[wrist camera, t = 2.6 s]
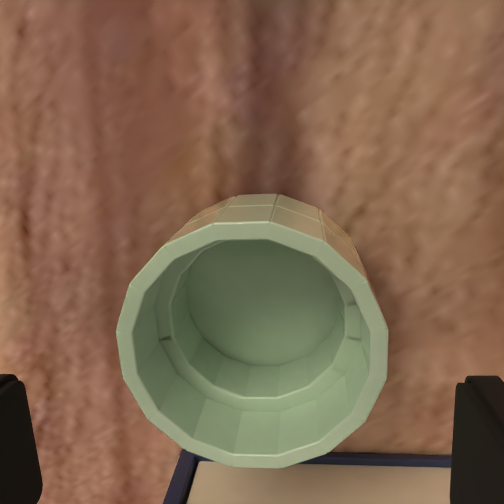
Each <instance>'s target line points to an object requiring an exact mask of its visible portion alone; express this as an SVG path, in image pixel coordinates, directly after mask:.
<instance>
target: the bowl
mask: <svg viewBox="0 0 504 504" xmlns="http://www.w3.org/2000/svg"><path fill="white" fill-rule="evenodd" d="M116 336H117V343H118V350H119V357H120V364H121V371H122V377H123V380H124V381H125V383H126V385H127V386H128V388H129V390H130V391H131V393H132V395H133V397H134V398H135V400H136V402H137V403H138V405H139V407H140V408H141V410H142V412H143V414H144V415H145V417H146V418H148V421H150V422H151V423H152V424H153V425H155V426H156V427H157V428H158V429H160V430H161V431H162V432H163V433H164V434H166V435H167V436H168V437H169V438H171V439H172V440H173V441H174V442H175V443H177V444H178V445H179V446H180V447H182V448H183V449H186V451H188V452H191V453H194V454H197V455H199V456H202V457H205V458H207V459H210V460H213V461H216V462H218V463H221V464H224V465H226V466H229V467H231V466H232V467H237V468H274V469H280V468H285V467H288V466H291V465H294V464H297V463H300V462H303V461H306V460H309V459H312V458H315V457H319V456H322V455H325V454H327V452H328V453H329V452H330V451H331V450H333V449H334V448H335V447H336V446H337V445H339V444H340V443H341V442H342V441H343V440H345V439H346V438H347V437H348V436H350V435H351V434H352V433H353V432H354V431H356V430H357V429H358V428H359V427H360V426H362V425H363V424H364V422H366V420H367V418H368V416H369V414H370V412H371V410H372V408H373V406H374V404H375V402H376V400H377V398H378V396H379V394H380V392H381V390H382V388H383V386H384V384H385V382H386V380H387V375H388V336H389V330H388V326H387V323H386V321H385V318H384V315H383V313H382V310H381V308H380V305H379V303H378V300H377V298H376V295H375V293H374V290H373V287H372V285H371V282H370V280H369V277H368V275H367V272H366V270H365V268H364V265H363V263H362V261H361V259H360V256H359V254H358V252H357V249H356V247H355V245H354V243H353V240H352V239H351V238H350V236H349V235H348V234H347V233H346V232H345V231H344V230H342V229H341V228H340V227H339V226H338V225H337V224H336V223H335V222H334V221H333V220H332V219H331V218H330V217H328V216H327V215H326V214H325V213H324V212H323V211H322V210H319V209H318V208H317V207H314V206H311V205H308V204H306V203H303V202H300V201H298V200H295V199H292V198H289V197H287V196H284V195H278V194H252V195H237V196H236V197H235V196H232V197H230V198H228V199H226V200H224V201H221V202H219V203H217V204H215V205H213V206H211V207H208V208H206V209H204V210H202V211H200V212H199V213H198V214H196V215H195V216H194V217H193V218H191V219H190V220H189V221H188V222H187V223H186V224H185V225H184V226H183V227H182V228H181V229H180V230H179V231H178V232H177V233H175V234H174V235H173V236H172V237H171V238H170V239H169V240H168V241H167V242H166V243H165V244H164V245H163V246H162V247H161V248H160V249H159V250H158V251H157V252H156V254H155V255H154V256H153V257H152V258H151V259H150V260H149V262H148V263H147V264H146V265H145V266H144V267H143V268H142V270H141V271H140V272H139V273H138V274H137V275H136V276H135V277H134V279H133V280H132V281H131V282H130V284H129V286H128V289H127V293H126V296H125V300H124V303H123V307H122V310H121V313H120V317H119V320H118V324H117V327H116Z"/></svg>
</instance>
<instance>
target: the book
mask: <svg viewBox="0 0 504 504" xmlns="http://www.w3.org/2000/svg"><path fill="white" fill-rule="evenodd" d="M451 461H452V456H445V455H401V454H358V453H327V454H325V455H322V456H319V457H315V458H312V459H309V460H306V461H303V462H300V463H297V464H294V465H291V466H288V467H285V468H280V469H274V468H237V467H232V466H231V467H229V466H226V465H224V464H221V463H218V462H216V461H213V460H210V459H207V458H205V457H202V456H199V455H197V454H194V453H191V452H188V451H186V450H185V449H182V451H181V453H180V457H179V460H178V463H177V466H176V468H175V471H174V474H173V477H172V480H171V482H170V485H169V488H168V491H167V494H166V496H165V499H164V502H163V504H450V478H451Z"/></svg>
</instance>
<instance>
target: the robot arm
mask: <svg viewBox="0 0 504 504" xmlns="http://www.w3.org/2000/svg"><path fill="white" fill-rule="evenodd" d="M42 487H43V483H42V477H41V471H40V466H39V460H38V455H37V449H36V444H35V439H34V433H33V428H32V422H31V417H30V411H29V406H28V400H27V395H26V389H25V386H24V384H23V382H21V381H18V378H17V377H16V376H15V375H13V374H0V504H37V502H38V501H39V499H40V496H41V493H42ZM450 504H504V382H503V381H502V380H501V378H500V377H498V376H467V377H466V380H465V383H458V384H457V386H456V392H455V409H454V427H453V444H452V461H451V478H450Z"/></svg>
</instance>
